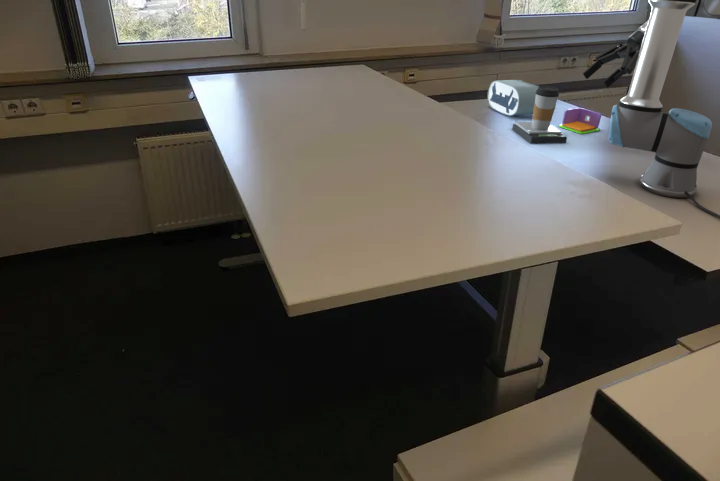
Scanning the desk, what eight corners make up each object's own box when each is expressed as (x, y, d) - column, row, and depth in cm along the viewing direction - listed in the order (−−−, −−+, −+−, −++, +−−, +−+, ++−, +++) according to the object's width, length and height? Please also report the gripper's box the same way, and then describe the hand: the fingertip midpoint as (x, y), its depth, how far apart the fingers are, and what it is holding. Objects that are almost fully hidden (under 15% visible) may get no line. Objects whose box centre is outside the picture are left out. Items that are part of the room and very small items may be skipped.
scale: (565, 143, 197) (567, 134, 196) (530, 143, 195) (532, 135, 194) (545, 129, 212) (546, 121, 210) (512, 129, 210) (513, 121, 208)
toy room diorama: (575, 122, 222) (579, 106, 218) (600, 130, 213) (605, 113, 210) (557, 126, 216) (560, 109, 213) (581, 134, 207) (586, 117, 204)
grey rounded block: (485, 106, 238) (489, 77, 232) (519, 104, 245) (524, 75, 239) (515, 120, 221) (521, 89, 214) (551, 117, 227) (558, 87, 221)
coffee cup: (552, 132, 198) (561, 91, 190) (529, 130, 199) (537, 89, 192) (550, 125, 205) (558, 86, 197) (528, 123, 206) (535, 84, 199)
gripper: (671, 51, 178) (619, 96, 183) (627, 40, 200) (581, 80, 205) (662, 34, 175) (609, 80, 180) (618, 24, 196) (572, 65, 201)
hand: (594, 80), depth 192 cm, fingers open, 13 cm apart
